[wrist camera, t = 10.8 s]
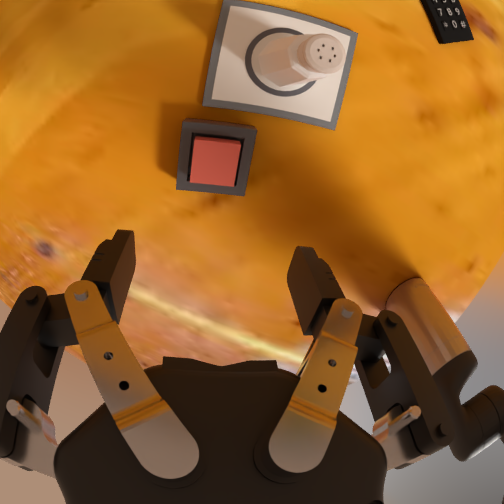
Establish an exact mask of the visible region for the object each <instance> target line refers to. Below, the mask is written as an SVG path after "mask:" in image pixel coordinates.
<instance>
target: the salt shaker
mask: <svg viewBox="0 0 504 504" xmlns="http://www.w3.org/2000/svg"><path fill="white" fill-rule="evenodd" d="M258 60H259V64H260V69H261V73H262V76H263V77H265V78H266V79H268V80H270V81H271V82H273V83H274V84H276V85H277V86H279V87H284V86H292V85H300V84H304V83H307V82H311V81H315V80H319V79H323V78H325V77H327V75H328V74H332V73H335V72H337V71H338V70H340V69H341V68H342V67H343V65H344V63H345V61H346V53H345V49H344V47H343V45H342V44H341V42H340V41H339V40H338V39H336V38H335V37H333V36H331V35H329V34H324V33H321V34H304V35H294V36H289V37H285V38H281V39H276V40H272V41H270V42H269V43H268V44H267V45H266V47H265V48H264V49H263V50H262V52H261V53H260V54H259V56H258Z"/></svg>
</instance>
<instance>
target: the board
mask: <svg viewBox="0 0 504 504" xmlns="http://www.w3.org/2000/svg"><path fill="white" fill-rule="evenodd" d="M321 33H324V34H329V35H331V36H333V37H335V38H336V39H338V40H339V41H340V42H341V44H342V45H343V47H344V49H345V53H346V61H345V63H344V65H343V67H342V68H341V69H340V70H338V71H337V72H335V73H332V74H328V75H327V77H325V78H323V79H319V80H315V81H311V82H307V83H304V84H300V85H292V86H284V87H279V86H277V85H276V84H274V83H273V82H271V81H270V80H268V79H266V78H265V77H263V76H262V73H261V69H260V64H259V60H258V56H259V54H260V53H261V52H262V50H263V49H264V48H265V47H266V45H267V44H268V43H269V42H270V41H272V40H276V39H281V38H285V37H289V36H294V35H304V34H321ZM357 35H358V33H356V32H353V31H351V30H348V29H346V28H343V27H340V26H338V25H335V24H332V23H329V22H326V21H324V20H321V19H317V18H314V17H311V16H308V15H304V14H301V13H297V12H293V11H290V10H286V9H281V8H277V7H273V6H268V5H263V4H258V3H252V2H246V1H239V0H223V4H222V8H221V12H220V16H219V21H218V25H217V29H216V34H215V39H214V43H213V48H212V53H211V58H210V63H209V69H208V74H207V80H206V85H205V91H204V97H203V104H202V106H208V107H218V108H226V109H233V110H240V111H247V112H253V113H259V114H265V115H270V116H276V117H281V118H286V119H290V120H295V121H299V122H304V123H308V124H312V125H316V126H320V127H324V128H328V129H331V130H335V128H336V124H337V120H338V116H339V112H340V109H341V105H342V101H343V97H344V93H345V89H346V84H347V80H348V76H349V72H350V67H351V63H352V59H353V54H354V50H355V45H356V40H357Z"/></svg>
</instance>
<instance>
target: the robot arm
mask: <svg viewBox="0 0 504 504" xmlns="http://www.w3.org/2000/svg"><path fill="white" fill-rule="evenodd" d="M135 265H136V256H135V241H134V232H133V231H131V230H119V229H118V230H117V231H116V233H115V235H114V237H113V239H112V240H108V239H106V240H105V241H104V242H102V243H101V244H100V245H99V246H98V247H97V249H96V251H95V254H94V255H93V257H92V259H91V260H90V262H89V264H88V266H87V268H86V270H85V272H84V274H83V276H82V278H81V280H80V281H76V282H74V283H72V284H71V285H69V286H68V288H67V289H66V291H65V293H63V294H57V295H49V296H47V293H46V291H45V289H44V288H42V287H40V286H31V287H29V288H27V289H25V290H24V291H23V292H22V293H21V294H20V295H19V297H18V299H17V301H16V302H15V304H14V306H13V308H12V310H11V312H10V314H9V316H8V318H7V320H6V322H5V324H4V326H3V328H2V330H1V333H0V459H2V460H4V461H6V462H8V463H10V464H12V465H14V466H18V467H20V468H22V469H25V470H27V471H33V470H35V471H37V472H40V473H42V474H45V475H47V476H50V477H53V478H56V480H57V482H58V484H59V487H60V489H61V491H62V493H63V496H64V498H65V502H66V504H384V502H383V489H384V481H385V477H386V472H387V470H390V469H393V468H395V469H402V468H404V467H406V466H409V465H411V464H413V463H415V462H417V461H419V460H421V459H423V458H425V457H427V456H429V455H431V454H433V453H435V452H437V451H439V450H440V449H442V448H444V447H446V446H447V445H449V447H450V449H451V451H452V453H453V455H454V456H455V458H457V459H458V460H459V461H467V460H469V459H471V458H472V457H474V456H475V455H477V454H478V453H480V452H481V451H482V450H484V449H485V448H487V447H488V446H489V445H491V444H492V443H493V442H495V441H496V440H497V439H498V438H500V439H501V440H502V442H503V443H504V390H503V389H501V388H500V387H498V386H496V385H491V386H489V387H487V388H485V389H484V390H482V391H481V392H480V393H478V394H477V395H475V396H474V397H473V398H471V399H470V400H468V401H467V402H465V403H464V404H463V405H461V403H460V399H459V395H460V392H461V390H462V388H463V386H464V385H465V383H466V382H467V380H468V379H469V378H470V377H471V375H472V374H473V373H474V371H475V370H476V368H477V365H478V362H477V359H476V357H475V355H474V354H473V352H472V350H471V349H470V347H469V345H468V344H467V342H466V341H465V339H464V337H463V336H462V334H461V332H460V331H459V329H458V328H457V326H456V325H455V323H454V322H453V320H452V319H451V317H450V316H449V314H448V313H447V312H446V310H445V309H444V307H443V306H442V304H441V303H440V302H439V300H438V299H437V297H436V296H435V295H434V293H433V292H432V291H431V289H430V287H429V286H428V285H427V284H426V283H425V281H424V280H423V279H421V278H413V279H410V280H408V281H406V282H404V283H402V284H401V285H400V286H398V287H397V288H396V289H395V290H394V291H393V292H392V294H391V295H390V296H389V298H388V300H387V303H386V310H383V311H381V312H380V313H379V315H378V316H377V317H374V316H370V315H366V314H362V310H361V308H360V307H359V306H358V305H357V304H356V303H355V302H353V301H351V300H349V299H346V298H345V296H344V294H343V292H342V290H341V288H340V286H339V284H338V282H337V280H335V279H336V278H335V276H334V274H332V273H333V272H332V271H331V269H330V267H329V265H328V264H327V263H326V262H325V261H324V260H323V259H322V258H318V256H317V254H316V252H315V250H314V249H313V248H312V247H302V246H297V247H296V249H295V252H294V255H293V258H292V261H291V264H290V267H289V270H288V273H287V283H288V287H289V290H290V293H291V296H292V299H293V303H294V306H295V309H296V312H297V315H298V319H299V322H300V325H301V328H302V332H303V335H313V338H314V339H313V341H312V343H311V345H310V347H309V349H308V351H307V353H306V355H305V357H304V359H303V362H302V364H301V366H300V368H299V370H298V371H297V373H296V375H295V374H293V373H291V372H289V371H286V370H283V369H279V368H278V367H277V362H276V360H265V361H245V362H241V363H236V364H231V365H227V366H217V365H213V364H209V363H205V362H202V361H198V360H194V359H189V358H176V357H164V356H163V364H162V365H156V366H152V367H149V368H147V369H144V370H143V369H142V367H141V366H140V364H139V362H138V361H137V359H136V357H135V356H134V354H133V352H132V350H131V349H130V347H129V345H128V343H127V341H126V340H125V338H124V336H123V334H122V332H121V330H120V328H119V327H118V325H119V322H120V318H121V315H122V311H123V307H124V304H125V300H126V297H127V294H128V290H129V287H130V284H131V281H132V278H133V274H134V271H135ZM117 324H118V325H117ZM78 344H79V345H80V347H81V350H82V353H83V355H84V358H85V360H86V362H87V365H88V367H89V370H90V372H91V374H92V376H93V378H94V381H95V383H96V385H97V387H98V389H99V391H100V393H101V395H102V397H103V399H104V401H105V402H104V403H103V405H101V406H100V407H99V408H98V409H97V410H96V411H95V412H93V413H92V414H91V415H90V416H89V417H88V418H87V419H86V420H85V421H84V422H82V423H81V424H80V425H79V426H78V427H77V428H76V429H75V430H73V431H72V432H71V433H70V434H69V435H68V436H67V437H66V438H64V440H62V441H61V443H60V444H59V445H58V444H57V442H56V439H55V426H54V423H53V421H52V420H51V418H50V417H49V416H48V410H49V405H50V400H51V396H52V391H53V388H54V384H55V379H56V375H57V372H58V368H59V365H60V362H61V358H62V355H63V352H64V348H65V346H70V345H78ZM385 353H386V355H387V357H388V360H389V362H390V364H391V373H389V371H388V369H387V366H386V364H385V362H384V359H383V357H382V356H383V355H384V354H385ZM354 364H355V367H356V370H357V372H358V375H359V378H360V380H361V383H362V386H363V389H364V391H365V395H366V397H367V400H368V403H369V406H370V409H371V412H372V415H373V418H374V421H375V424H374V426H373V434H372V435H370V434H368V433H367V432H366V431H365V430H363V429H362V428H361V427H360V426H358V425H357V424H356V423H355V422H353V421H352V420H351V419H350V418H348V417H347V416H346V415H344V414H343V413H342V412H341V411H340V410H339V408H340V405H341V402H342V399H343V396H344V393H345V390H346V387H347V384H348V381H349V378H350V375H351V372H352V368H353V365H354ZM502 504H504V497H503V501H502Z"/></svg>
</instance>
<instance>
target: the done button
mask: <svg viewBox="0 0 504 504" xmlns="http://www.w3.org/2000/svg"><path fill="white" fill-rule="evenodd" d="M240 148H241V143H240V141H237V140H230V139H221V138H213V137H203V136H196V137H195V140H194V148H193V157H192V166H191V175H190V182H191V183H202V184H212V185H221V186H231V187H234V182H235V176H236V170H237V165H238V159H239V154H240Z"/></svg>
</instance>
